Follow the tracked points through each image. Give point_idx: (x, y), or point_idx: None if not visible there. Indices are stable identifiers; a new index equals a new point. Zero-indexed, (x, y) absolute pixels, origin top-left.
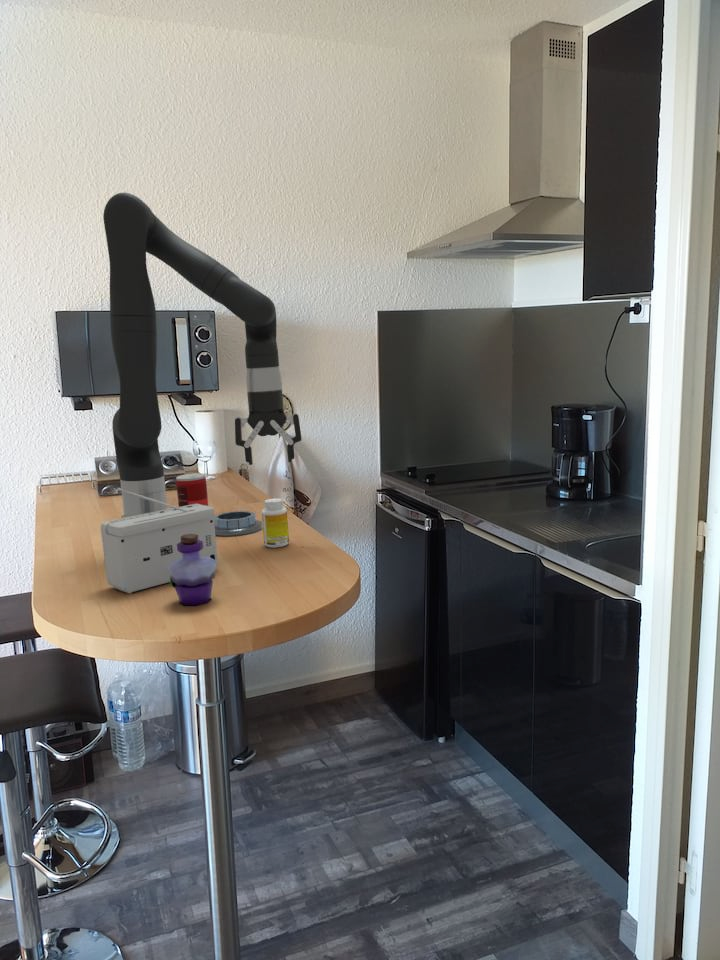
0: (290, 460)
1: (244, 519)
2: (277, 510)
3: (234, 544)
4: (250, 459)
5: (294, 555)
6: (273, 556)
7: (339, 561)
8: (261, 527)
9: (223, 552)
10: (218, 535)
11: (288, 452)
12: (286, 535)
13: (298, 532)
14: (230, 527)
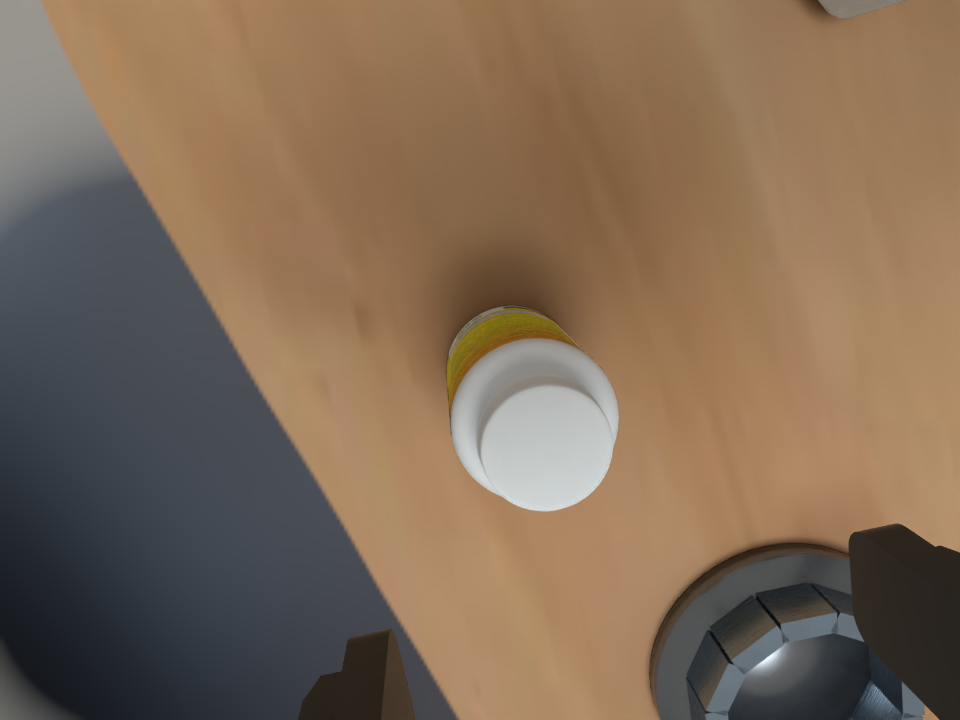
0: (358, 637)
1: (746, 643)
2: (501, 371)
3: (732, 397)
4: (913, 556)
5: (370, 156)
6: (480, 147)
7: (88, 8)
8: (652, 674)
9: (759, 250)
10: (842, 554)
11: (368, 716)
12: (451, 356)
13: (447, 597)
14: (802, 592)
